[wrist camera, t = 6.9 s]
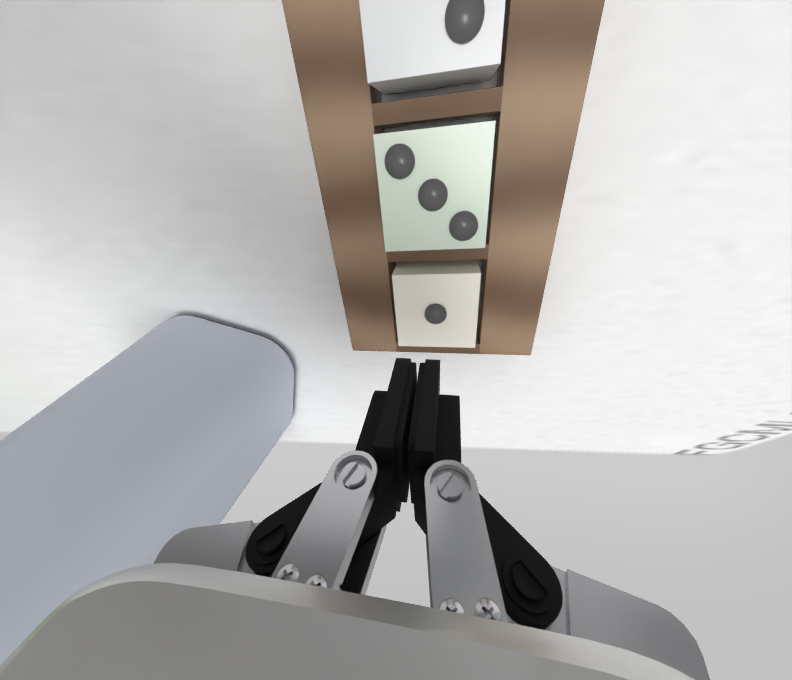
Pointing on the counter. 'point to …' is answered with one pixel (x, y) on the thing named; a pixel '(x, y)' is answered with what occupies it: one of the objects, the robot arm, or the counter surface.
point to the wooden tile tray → (508, 102)
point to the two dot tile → (430, 42)
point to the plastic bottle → (134, 461)
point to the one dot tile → (437, 302)
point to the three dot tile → (435, 186)
